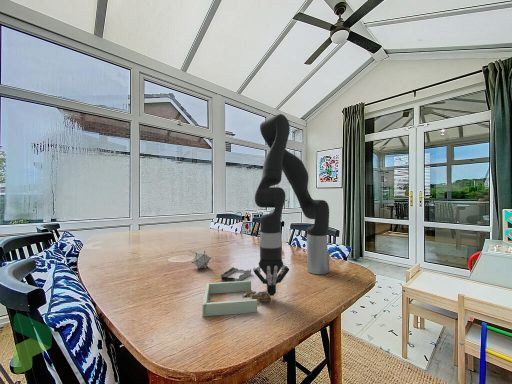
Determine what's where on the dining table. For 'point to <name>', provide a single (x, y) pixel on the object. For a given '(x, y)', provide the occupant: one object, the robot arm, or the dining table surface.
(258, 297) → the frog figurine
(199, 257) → the grey spiky ball
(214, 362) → the dining table surface
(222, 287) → the frame
